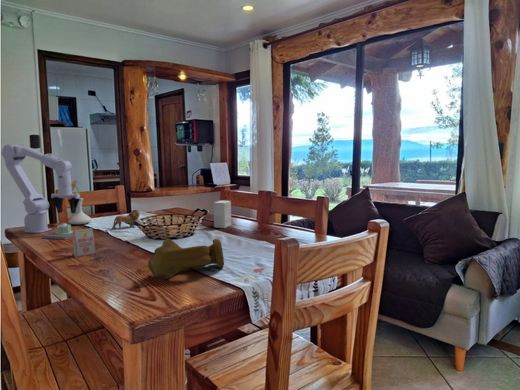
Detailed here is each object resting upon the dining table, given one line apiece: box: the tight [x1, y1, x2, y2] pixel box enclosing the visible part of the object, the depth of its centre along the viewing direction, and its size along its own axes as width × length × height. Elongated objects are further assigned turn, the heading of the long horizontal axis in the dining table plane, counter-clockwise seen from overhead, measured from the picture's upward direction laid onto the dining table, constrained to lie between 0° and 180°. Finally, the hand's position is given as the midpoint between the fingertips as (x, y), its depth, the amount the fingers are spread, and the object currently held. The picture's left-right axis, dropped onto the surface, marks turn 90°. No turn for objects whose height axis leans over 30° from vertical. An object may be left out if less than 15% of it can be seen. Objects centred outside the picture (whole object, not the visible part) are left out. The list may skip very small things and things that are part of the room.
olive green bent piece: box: [147, 237, 225, 280], centre depth 118 cm, size 18×13×22 cm
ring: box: [56, 223, 72, 234], centre depth 170 cm, size 6×6×3 cm
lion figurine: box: [111, 209, 140, 230], centre depth 185 cm, size 15×5×9 cm, turn 131°
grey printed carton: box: [72, 227, 96, 258], centre depth 138 cm, size 4×7×10 cm, turn 129°
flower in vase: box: [68, 178, 93, 225], centre depth 194 cm, size 13×11×25 cm
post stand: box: [42, 222, 74, 240], centre depth 170 cm, size 12×13×6 cm
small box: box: [213, 200, 232, 229], centre depth 187 cm, size 8×6×13 cm
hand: (66, 212), depth 176 cm, fingers open, 7 cm apart
